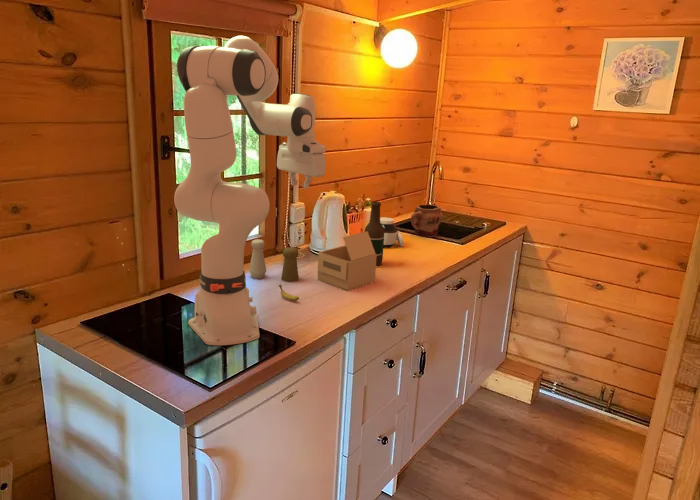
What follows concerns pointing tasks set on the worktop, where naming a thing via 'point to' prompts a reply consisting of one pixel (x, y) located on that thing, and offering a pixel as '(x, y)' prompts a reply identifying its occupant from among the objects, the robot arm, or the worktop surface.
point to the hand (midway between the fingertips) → (299, 186)
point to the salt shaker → (257, 260)
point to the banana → (287, 296)
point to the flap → (359, 245)
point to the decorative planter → (426, 220)
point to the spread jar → (390, 233)
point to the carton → (345, 268)
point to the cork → (290, 265)
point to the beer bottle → (376, 231)
